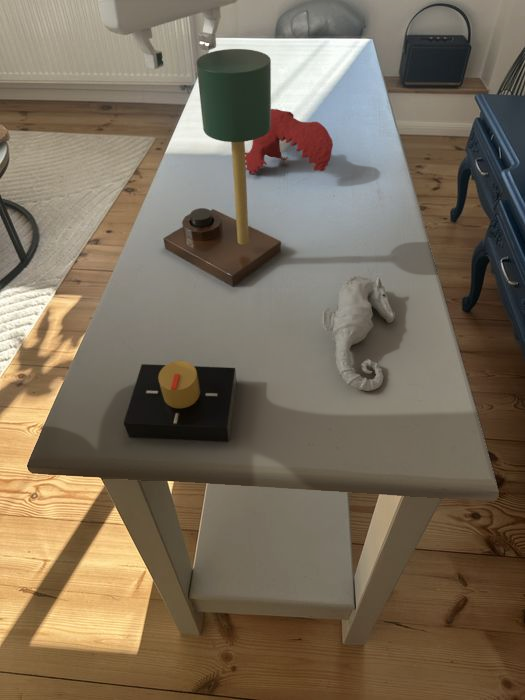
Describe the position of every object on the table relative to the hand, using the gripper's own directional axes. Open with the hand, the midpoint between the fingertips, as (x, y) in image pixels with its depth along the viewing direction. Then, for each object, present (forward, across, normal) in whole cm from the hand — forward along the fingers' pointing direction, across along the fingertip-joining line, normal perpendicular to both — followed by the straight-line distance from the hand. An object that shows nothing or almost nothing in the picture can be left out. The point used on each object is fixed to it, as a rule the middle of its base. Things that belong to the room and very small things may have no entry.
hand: (182, 57), depth 63 cm
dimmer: (+29, -27, -24) cm, 46 cm away
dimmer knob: (+26, -27, -24) cm, 44 cm away
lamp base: (+29, 0, -4) cm, 29 cm away
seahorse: (+29, -3, -34) cm, 44 cm away
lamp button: (+25, 0, 0) cm, 25 cm away
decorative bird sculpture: (+29, +29, +10) cm, 42 cm away
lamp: (+25, 0, -9) cm, 26 cm away
